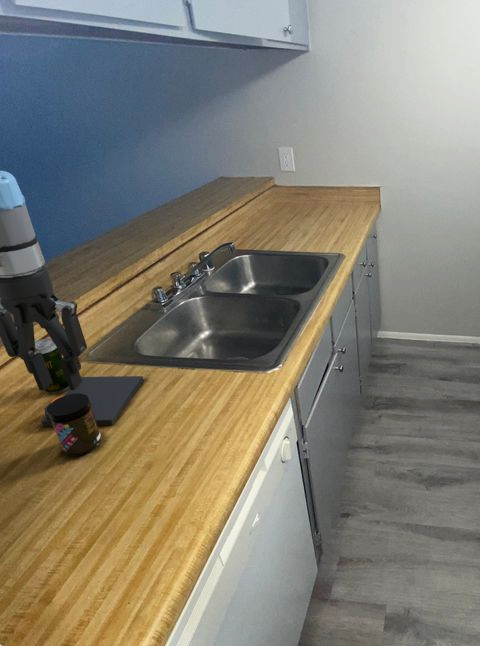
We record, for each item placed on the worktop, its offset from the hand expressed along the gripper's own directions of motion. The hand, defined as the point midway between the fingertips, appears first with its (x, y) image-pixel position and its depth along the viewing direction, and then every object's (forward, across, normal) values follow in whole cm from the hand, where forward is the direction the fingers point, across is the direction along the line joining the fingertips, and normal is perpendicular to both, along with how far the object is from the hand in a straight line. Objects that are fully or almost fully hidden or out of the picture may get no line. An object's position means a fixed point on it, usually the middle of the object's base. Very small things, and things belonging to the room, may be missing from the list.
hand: (61, 385), depth 88 cm
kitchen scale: (+15, -4, +14) cm, 21 cm away
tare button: (+12, -8, +9) cm, 17 cm away
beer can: (+15, -15, +20) cm, 29 cm away
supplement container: (+15, 0, 0) cm, 15 cm away
